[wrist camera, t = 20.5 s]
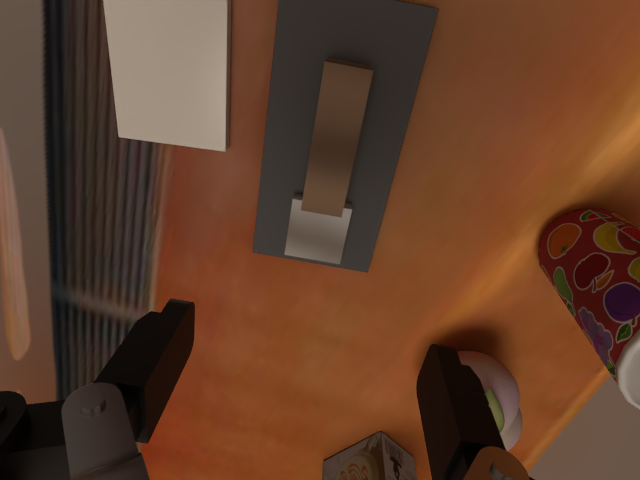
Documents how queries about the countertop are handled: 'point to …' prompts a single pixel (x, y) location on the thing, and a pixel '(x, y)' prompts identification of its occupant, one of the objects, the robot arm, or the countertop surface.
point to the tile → (171, 70)
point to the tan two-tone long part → (330, 164)
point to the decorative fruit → (498, 393)
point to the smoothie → (600, 286)
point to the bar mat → (302, 100)
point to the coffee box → (371, 461)
